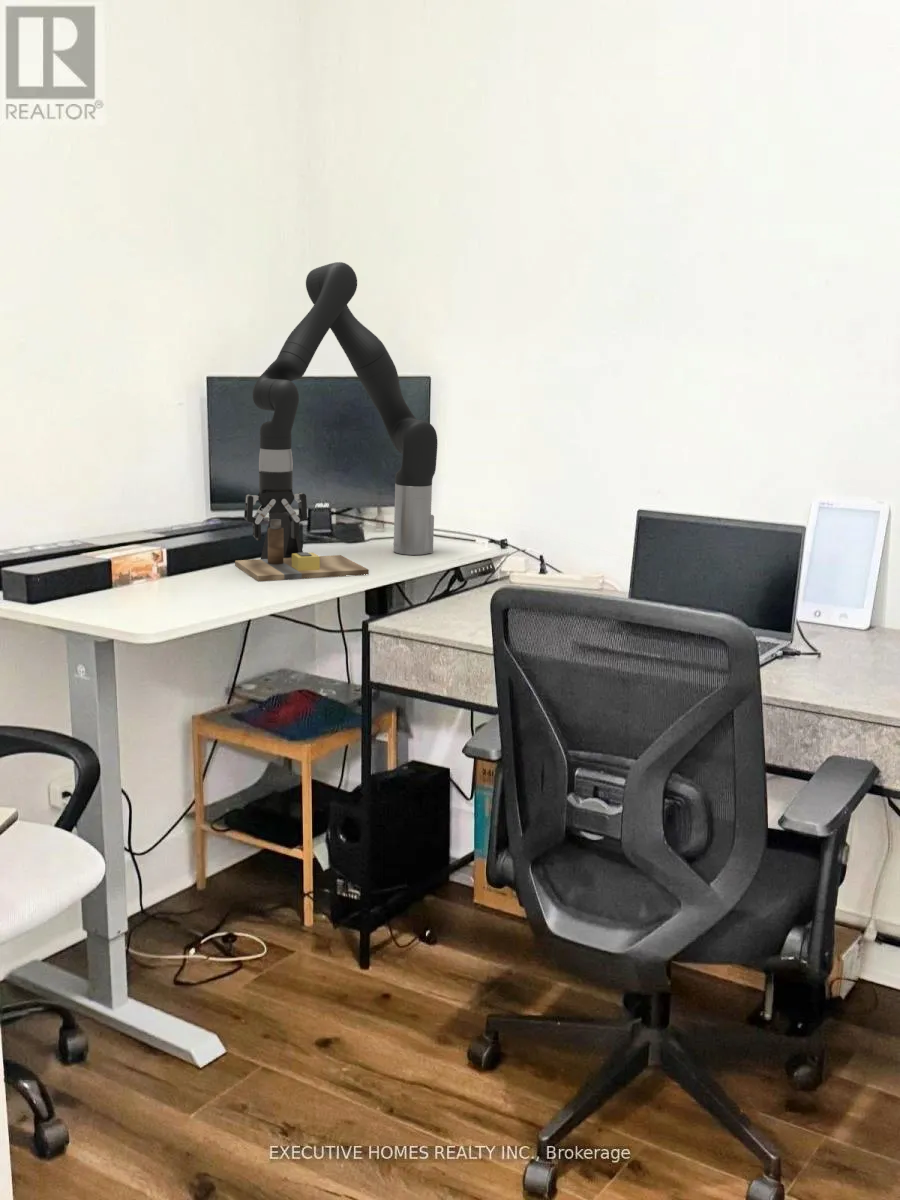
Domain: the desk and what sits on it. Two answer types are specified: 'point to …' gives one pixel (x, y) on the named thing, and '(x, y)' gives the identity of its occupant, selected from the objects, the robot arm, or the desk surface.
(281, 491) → the robot arm
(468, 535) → the desk surface
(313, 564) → the block
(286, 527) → the phone stand
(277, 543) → the brown wooden bottle
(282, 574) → the panel
